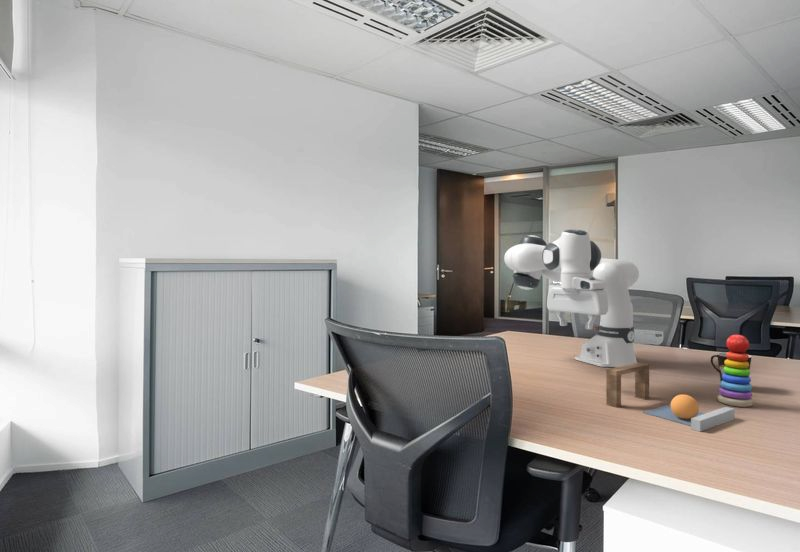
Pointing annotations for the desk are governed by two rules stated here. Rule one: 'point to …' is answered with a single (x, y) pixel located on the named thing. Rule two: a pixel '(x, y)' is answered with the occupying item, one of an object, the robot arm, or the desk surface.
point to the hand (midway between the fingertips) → (575, 327)
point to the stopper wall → (712, 419)
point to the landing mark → (669, 414)
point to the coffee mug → (721, 360)
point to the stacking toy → (736, 374)
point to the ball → (684, 407)
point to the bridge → (615, 382)
